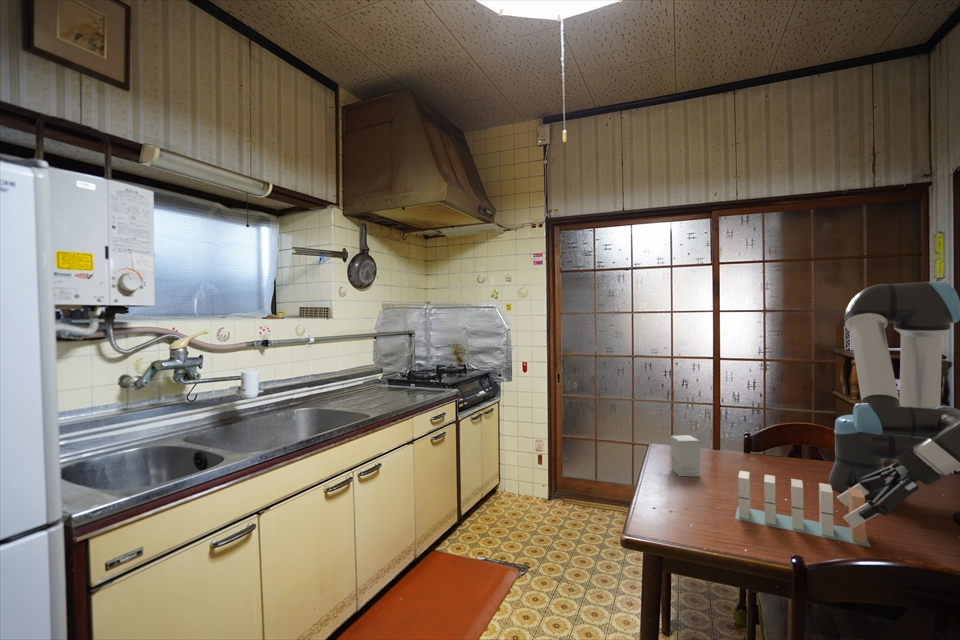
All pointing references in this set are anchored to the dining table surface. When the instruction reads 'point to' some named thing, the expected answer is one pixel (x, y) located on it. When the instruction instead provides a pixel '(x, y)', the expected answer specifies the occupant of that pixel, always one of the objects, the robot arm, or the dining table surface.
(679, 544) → the dining table surface
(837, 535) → the domino board
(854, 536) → the terracotta domino
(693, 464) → the supplement box
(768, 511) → the domino
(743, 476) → the domino
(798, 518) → the domino
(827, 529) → the domino
